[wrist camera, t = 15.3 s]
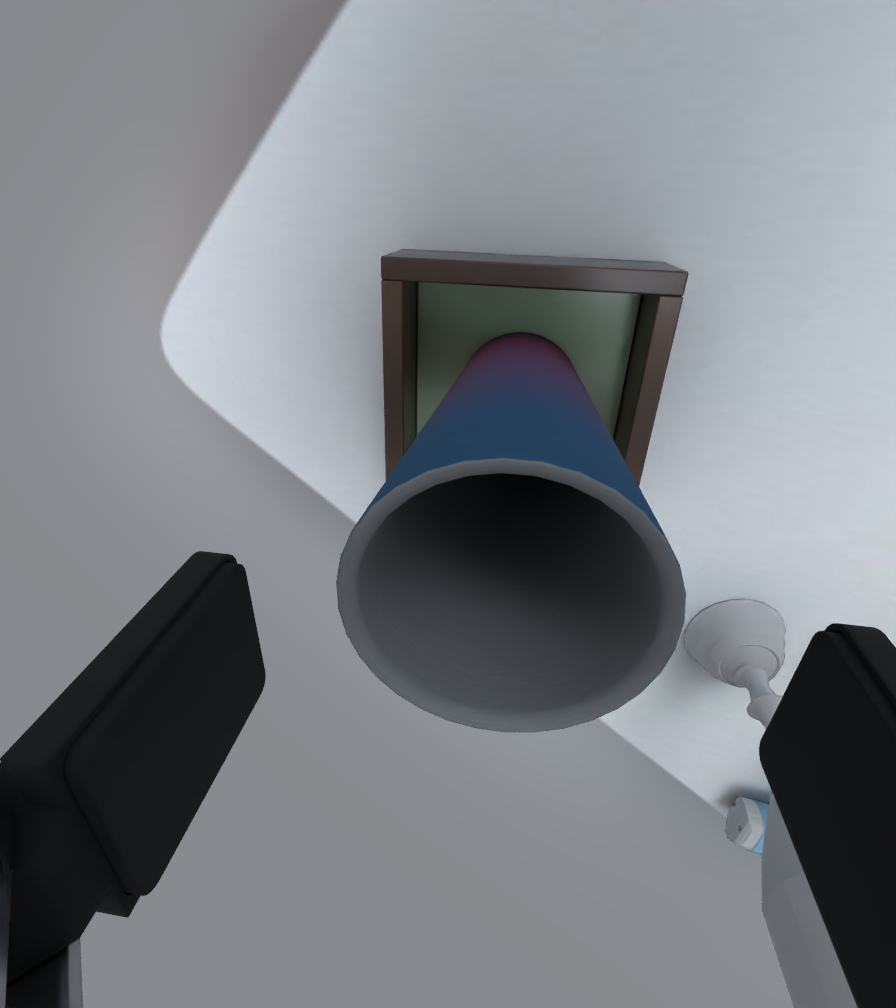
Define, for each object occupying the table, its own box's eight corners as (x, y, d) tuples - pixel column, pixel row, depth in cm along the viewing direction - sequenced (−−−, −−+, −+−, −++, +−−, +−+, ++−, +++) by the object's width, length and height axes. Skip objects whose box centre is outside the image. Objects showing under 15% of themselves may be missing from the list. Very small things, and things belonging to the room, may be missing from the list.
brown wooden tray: (401, 248, 22) (380, 255, 19) (666, 261, 21) (689, 271, 18) (402, 478, 27) (386, 513, 24) (615, 498, 26) (627, 537, 23)
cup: (423, 330, 23) (283, 494, 10) (586, 290, 21) (673, 422, 8) (461, 472, 26) (392, 742, 13) (607, 446, 24) (695, 724, 11)
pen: (726, 782, 36) (710, 822, 36) (756, 810, 32) (739, 855, 32) (983, 873, 37) (968, 912, 37) (1037, 910, 34) (1020, 953, 34)
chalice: (783, 564, 27) (1135, 1060, 11) (825, 655, 29) (1166, 1172, 14) (643, 616, 30) (770, 1076, 14) (691, 696, 32) (847, 1168, 16)
